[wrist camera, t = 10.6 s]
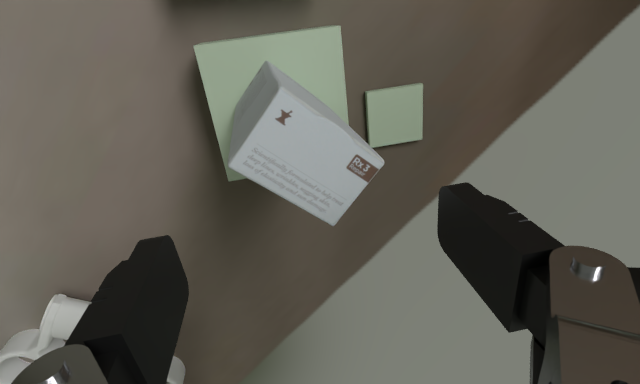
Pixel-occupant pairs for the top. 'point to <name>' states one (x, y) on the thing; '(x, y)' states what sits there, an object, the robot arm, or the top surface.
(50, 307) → the white brass knuckles
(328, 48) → the sage riser block
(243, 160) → the skincare box
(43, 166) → the top surface
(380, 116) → the sage tile
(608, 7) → the top surface
